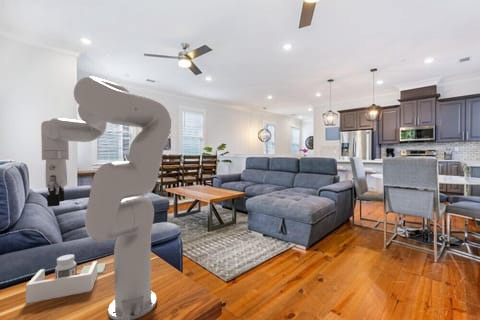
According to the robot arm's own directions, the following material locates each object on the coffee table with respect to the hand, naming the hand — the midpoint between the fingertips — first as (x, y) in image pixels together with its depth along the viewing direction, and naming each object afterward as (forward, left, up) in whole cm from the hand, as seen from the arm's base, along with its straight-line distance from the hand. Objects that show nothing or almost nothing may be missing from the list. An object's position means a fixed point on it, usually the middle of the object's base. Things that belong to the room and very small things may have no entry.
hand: (56, 203), depth 82 cm
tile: (0, -11, -26) cm, 29 cm away
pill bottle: (-9, -5, -27) cm, 29 cm away
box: (-10, -5, -26) cm, 29 cm away
